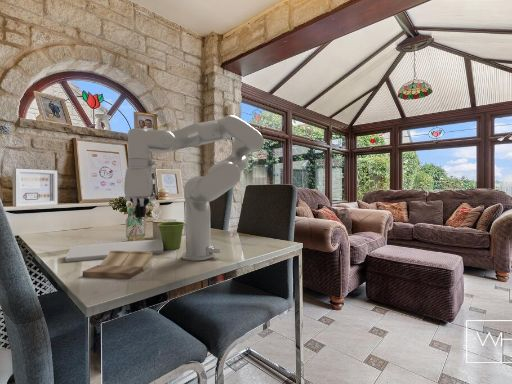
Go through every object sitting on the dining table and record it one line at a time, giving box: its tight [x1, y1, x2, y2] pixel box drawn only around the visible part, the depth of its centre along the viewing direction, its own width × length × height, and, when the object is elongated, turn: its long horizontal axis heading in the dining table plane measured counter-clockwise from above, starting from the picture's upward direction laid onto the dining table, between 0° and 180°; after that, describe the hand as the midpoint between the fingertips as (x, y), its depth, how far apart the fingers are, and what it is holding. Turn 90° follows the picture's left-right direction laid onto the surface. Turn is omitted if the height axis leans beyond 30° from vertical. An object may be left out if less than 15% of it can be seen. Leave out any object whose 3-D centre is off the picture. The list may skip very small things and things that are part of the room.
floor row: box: [82, 264, 145, 279], centre depth 87 cm, size 16×8×2 cm, turn 83°
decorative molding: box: [64, 238, 164, 263], centre depth 111 cm, size 34×5×10 cm
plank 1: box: [99, 251, 131, 266], centre depth 94 cm, size 8×7×2 cm
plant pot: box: [157, 221, 186, 251], centre depth 122 cm, size 12×12×11 cm
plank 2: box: [122, 251, 154, 271], centre depth 93 cm, size 8×7×2 cm
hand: (140, 217), depth 95 cm, fingers closed
